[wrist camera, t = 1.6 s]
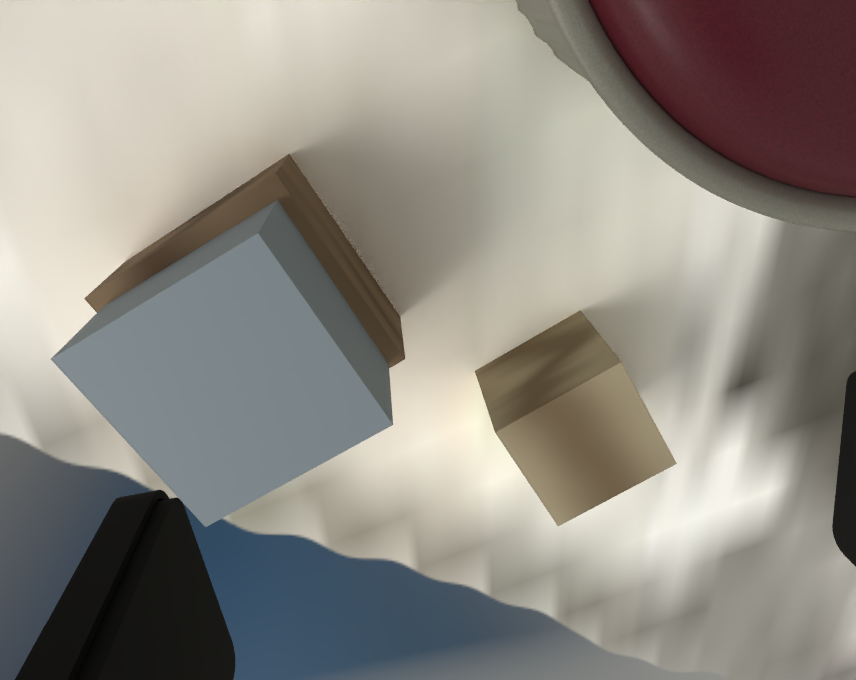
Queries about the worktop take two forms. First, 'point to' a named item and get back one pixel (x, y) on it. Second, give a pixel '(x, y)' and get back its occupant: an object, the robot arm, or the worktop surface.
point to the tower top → (234, 367)
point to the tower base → (310, 222)
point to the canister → (727, 92)
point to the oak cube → (572, 418)
